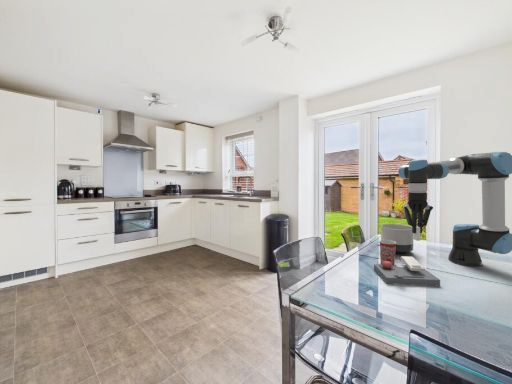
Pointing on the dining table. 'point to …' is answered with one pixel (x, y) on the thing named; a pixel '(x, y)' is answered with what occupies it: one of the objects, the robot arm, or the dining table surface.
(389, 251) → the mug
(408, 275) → the panel
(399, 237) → the planter
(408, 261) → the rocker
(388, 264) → the button
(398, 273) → the slider
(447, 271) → the dining table surface
